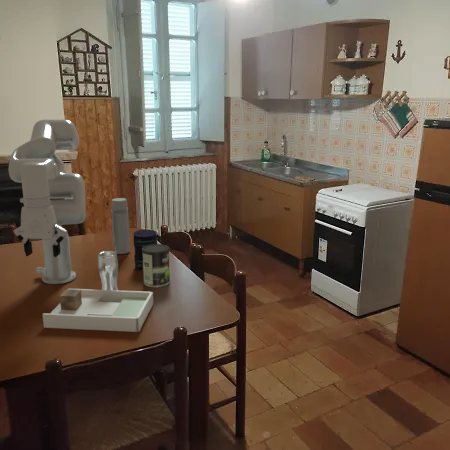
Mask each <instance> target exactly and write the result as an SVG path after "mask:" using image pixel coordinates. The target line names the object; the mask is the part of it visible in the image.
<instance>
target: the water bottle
mask: <svg viewBox="0 0 450 450" xmlns="http://www.w3.org/2000/svg"><path fill="white" fill-rule="evenodd" d="M128 210H129V207H128V201H127V198H126V197H125V198H124V197H117V198H113V199H111V210H110V213H111V219H112V220H111V244H112V246H113V248H114V249H113V250H114V252H116V253H117V255H125V254H126V255H127V254H128V253H130V251H131V245H130V244H131V243H130V225H129V223H130V222H129V211H128Z"/></svg>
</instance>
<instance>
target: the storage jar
mask: <svg viewBox="0 0 450 450" xmlns="http://www.w3.org/2000/svg"><path fill="white" fill-rule="evenodd" d="M132 236H133V239H132V240H133V247H134V255H133V258H134V259H133V260H134V261H133V262H134V269H136V270H137V271H141V272H143V253H142V248H143V247H144V246H147V245H151V244H159V243H158V232H157V230H154V229H140V230H136V231H134V232H133V235H132Z"/></svg>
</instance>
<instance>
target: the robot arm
mask: <svg viewBox="0 0 450 450" xmlns="http://www.w3.org/2000/svg"><path fill="white" fill-rule="evenodd" d="M78 132H79V131H78V130H77V127H76V125H75V124H74V123H73V122H72V121H71V120H69V119H41V120H38V121H36V122H35V123H34V125H33V128H32V131H31V135H30V136H31V137H30V140H28V141H27V142H25V143H23V144H21V145H19V146H18V147H16V148H15V149H14V150H13V152H12V153H11V156H10V160H9V162H8V163H9V164H8V174H9V178H10V179H11V180H12V181H13V182H15V183H21V187H22V195H23V197H22V198H20V199H19V202H20V203H22V204H23V206H22V207H21V212H20V226H19V227H17V228H15V229H14V230H13V233H14V235H15V236H16V237H17V239H18V240H19V241H20V242H21V244H22V245H23V248H24V249H23V250H24V253H25V257H29V256H30V255H32V254H33V243H32V241H31V240H42V248H43V249H42V250H43V259H44V267H42V266H37V267H36V270H35V271H36V274H38V275H39V274H40V275H42V276H41V279H42V280H41V281H42V282H43V283H44V284H49V285H61V284H65V283H67V284H68V283H70V282H71V281H74V280H75V279H76V277H77V273H76V272H75V271H74V270H72V262H71V261H72V260H71V251H70V249H71V248H70V240H69V233H68V229H67V230H66V229H65V228H64V227H63V225H77V224H82V223H84V221H85V220H86V216H87V213H86V212H87V209H86V208H87V206H86V185H85V180H84V178H83V176H82V175H81V174H78V173H74V172H73V173H65V163H64V161H63V160H62V159H61V158H60V157H59V156H58V154H56V153H55V152H56V151H75V150H77V149H78V148H79V145H80V135H79V133H78Z"/></svg>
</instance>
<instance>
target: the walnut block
mask: <svg viewBox="0 0 450 450" xmlns="http://www.w3.org/2000/svg"><path fill="white" fill-rule="evenodd" d="M59 304H61V310H74V311H76V310H77V309H78V308H79V307H80V306H81V304H82V298H81V290H69V288H67V289H64V290H63V292H62V293H60V295H59Z"/></svg>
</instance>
